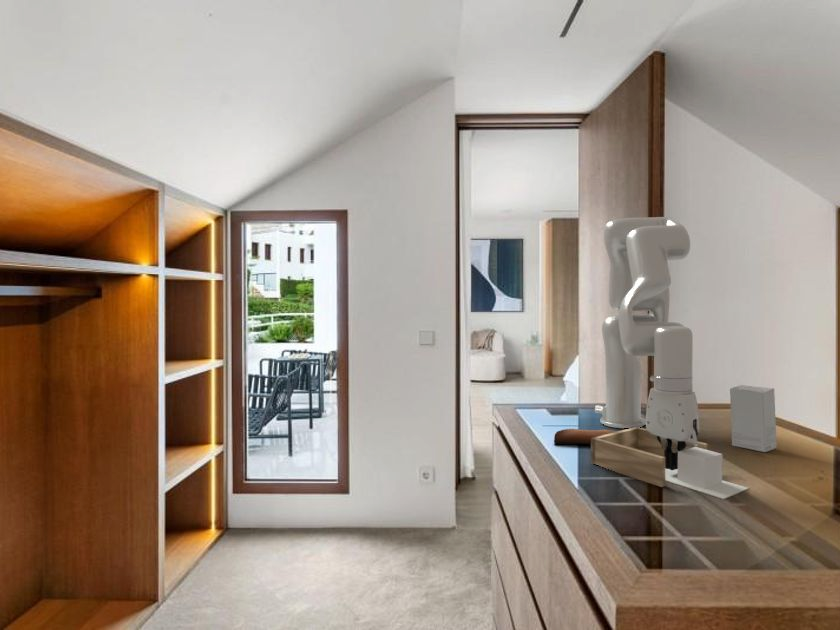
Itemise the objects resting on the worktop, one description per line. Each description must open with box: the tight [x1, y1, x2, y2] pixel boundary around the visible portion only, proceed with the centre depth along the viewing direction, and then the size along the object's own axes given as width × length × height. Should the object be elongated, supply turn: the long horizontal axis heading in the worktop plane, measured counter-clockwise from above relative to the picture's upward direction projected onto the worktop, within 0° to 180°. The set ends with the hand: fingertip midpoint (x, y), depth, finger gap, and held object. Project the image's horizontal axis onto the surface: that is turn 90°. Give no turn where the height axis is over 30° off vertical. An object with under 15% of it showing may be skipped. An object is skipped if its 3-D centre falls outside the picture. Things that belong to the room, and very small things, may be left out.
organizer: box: [590, 427, 709, 488], centre depth 129 cm, size 16×18×6 cm
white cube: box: [678, 447, 723, 488], centre depth 119 cm, size 6×6×6 cm
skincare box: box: [729, 384, 777, 453], centre depth 141 cm, size 8×6×15 cm
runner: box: [665, 468, 749, 500], centre depth 123 cm, size 26×9×1 cm, turn 33°
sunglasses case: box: [553, 428, 617, 445], centre depth 148 cm, size 18×7×7 cm
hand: (672, 468), depth 124 cm, fingers closed
